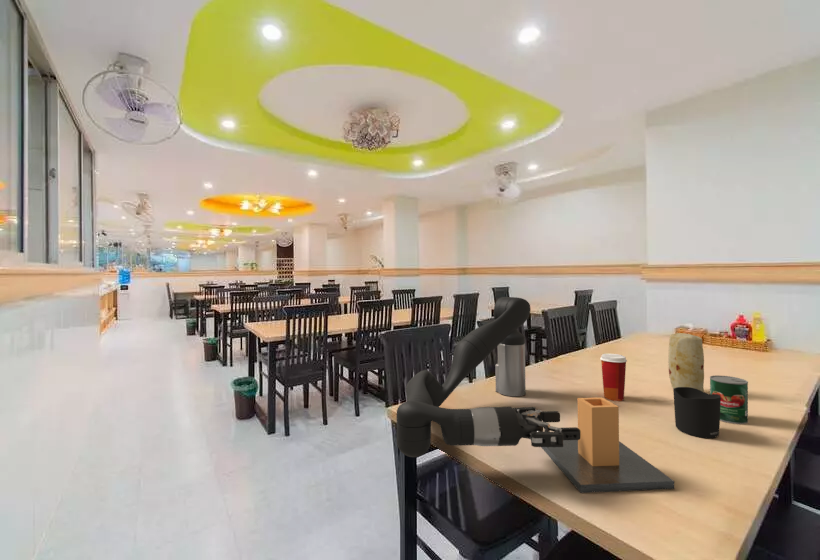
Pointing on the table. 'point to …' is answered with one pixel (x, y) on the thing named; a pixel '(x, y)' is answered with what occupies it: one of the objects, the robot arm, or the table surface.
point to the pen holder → (697, 412)
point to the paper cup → (613, 376)
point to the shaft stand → (608, 471)
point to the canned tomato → (731, 398)
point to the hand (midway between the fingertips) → (568, 424)
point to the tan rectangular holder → (598, 431)
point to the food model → (686, 361)
